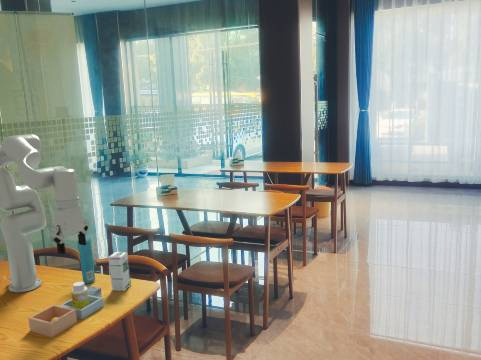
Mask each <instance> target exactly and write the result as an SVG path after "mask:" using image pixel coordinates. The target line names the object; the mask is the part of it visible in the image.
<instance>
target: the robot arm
mask: <svg viewBox="0 0 481 360" xmlns="http://www.w3.org/2000/svg"><path fill="white" fill-rule="evenodd" d="M42 144H43V143H42V140H41V139H40V138H39V137H38V136H37V135H35V134H32V133H26V134H18V135H11V136H6V137H5V138H4V139H3V140H2V141H1V144H0V211H2V212H12V211H16V210H21V209H26V210H24V211H20V212H15V213H12V214H8V215H6V216H4V217H3V218H2V219H1V221H0V230H1V232H2V235H3V238H4V241H5V245H6V251H7V258H8V264H9V271H10V276H9V277H7V281H10V283H11V284H9V285H8V291H9V292H11V293H25V292H26V293H27V292H30V291H32V290H35V289H37V288H39V287H40V286H42V283H43V282H42V280H41V278H39V277H37V269H36V268H37V267H36V261H35V257H34V247H33V243H32V242H31V240H29V239H28V238H27V237H26V235H29V234H32V233H36V232H39V231H42V230H44V229H45V228H46V226H47V217H46V214H45V210H44V207H43V204H42V202H41V198H40V195H39V192H38V191H44V190H48V189H52V188H53V189H54V195H55V204H56V205H55V206H56V208H54V213H53V215H54V216H53V229H52V231H51V232H49V233H48V234H49V237H50V239H51V240H52V241H53V242H54V243H55V244H56V249H57V253H58V254H61V255H65V254H66V247H65V246H66V245H65V243H64V241H65V239H66V238H67V237H69V236H73V235H75V234H77V233H78V234H77V239H78V240H77V241H79V244H80V245H86V235H87V231H88V229H89V224H90V220H87V219H84V216H83V210H82V208H81V205H80V200H81V198H80V197H79V194H78V192H79V191H78V182H77V175H76V170H74V169H73V168H66V167H64V166H61V165H55V166H48V167H43V168H37V167H38V166H39V165H40V163H41V160H42V155H41V151H42V150H43V145H42ZM15 164H16V165H17V172H18V177H19V179H20V181H21V182H22V183H23V184H21V185H16V182H15V179H14V175H13V174H12V173H11V172H10V171H9V170H8V169H7V168H4V167H3V166H11V165H15ZM36 168H37V169H36Z"/></svg>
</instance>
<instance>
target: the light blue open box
mask: <svg viewBox="0 0 481 360" xmlns="http://www.w3.org/2000/svg"><path fill="white" fill-rule="evenodd" d="M88 297H89V305H88V306H86V307H84V308H83V309H78V308H74V307H73V301H72V298H71V299H69V300H67V301H65V302H64V303H62V304H60V305H59V306H62V307H67V308H71V309H75V310H76V317H77V319H80V320H83V319H84V320H85V318H87V317H88V316H91V315H92V314H94V313H95V312H97V311H99V310H100V309H102V308H104V307H105V304H104V298H103V297H96V296H91V295H88Z"/></svg>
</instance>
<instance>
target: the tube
mask: <svg viewBox="0 0 481 360" xmlns="http://www.w3.org/2000/svg"><path fill="white" fill-rule="evenodd" d="M85 238H86V245H80V244H79V241H78V240H77V241H76V244H77V250H78V257H79V262H80V268H81V269H80V270H81V275H82V276H81V277H82V282H84V284H90V283H91V284H92V283H94V282H95V281H96V274H95V265H94V259H93V257H94V256H93V246H92V236H91V235H89V236H85Z"/></svg>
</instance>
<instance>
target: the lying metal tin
mask: <svg viewBox="0 0 481 360" xmlns="http://www.w3.org/2000/svg"><path fill="white" fill-rule="evenodd" d="M85 287H87V289H88V295H91V296H96V297H101V298H103V297H102V295H103V294H102V287H99V286H90V285H85Z"/></svg>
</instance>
